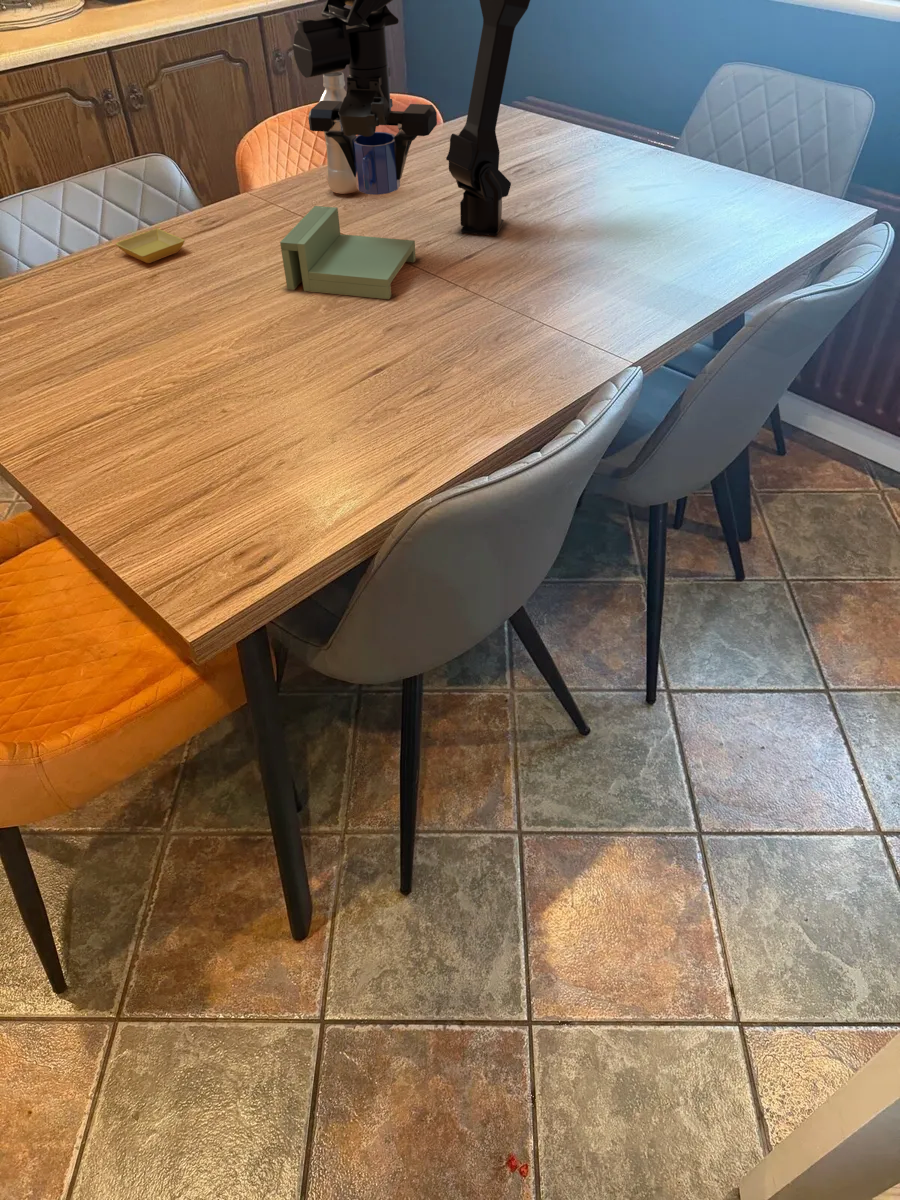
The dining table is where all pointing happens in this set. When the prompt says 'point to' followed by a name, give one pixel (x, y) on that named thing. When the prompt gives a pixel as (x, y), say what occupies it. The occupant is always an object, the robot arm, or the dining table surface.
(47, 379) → the dining table surface
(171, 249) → the yellow shallow square dish
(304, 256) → the shelf
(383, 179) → the mug
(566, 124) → the dining table surface
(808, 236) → the dining table surface
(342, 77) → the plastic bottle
